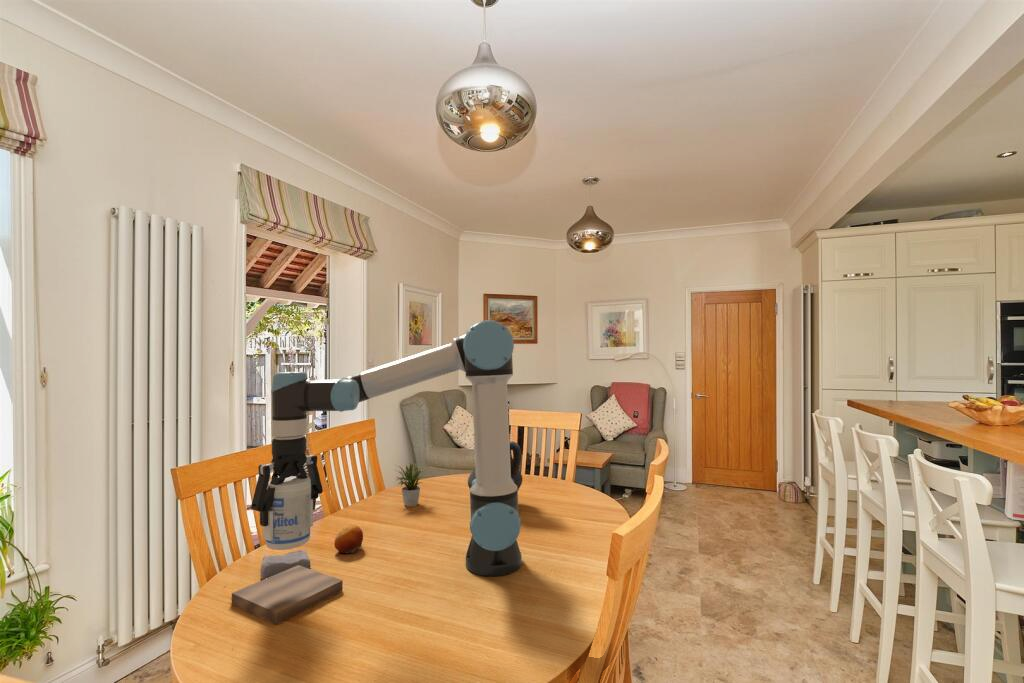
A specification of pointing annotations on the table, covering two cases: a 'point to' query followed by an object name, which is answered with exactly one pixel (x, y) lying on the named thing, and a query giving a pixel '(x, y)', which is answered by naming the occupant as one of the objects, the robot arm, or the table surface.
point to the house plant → (410, 485)
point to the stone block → (283, 563)
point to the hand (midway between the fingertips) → (288, 532)
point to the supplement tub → (291, 513)
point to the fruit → (349, 539)
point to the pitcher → (513, 464)
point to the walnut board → (286, 593)
